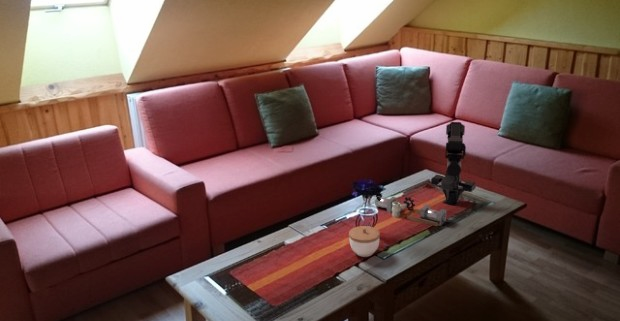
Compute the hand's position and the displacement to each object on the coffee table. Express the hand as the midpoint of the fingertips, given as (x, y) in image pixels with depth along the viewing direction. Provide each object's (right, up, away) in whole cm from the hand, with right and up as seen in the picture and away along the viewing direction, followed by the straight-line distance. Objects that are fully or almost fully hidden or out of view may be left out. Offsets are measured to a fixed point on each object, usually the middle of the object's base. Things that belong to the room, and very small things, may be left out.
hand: (452, 200), depth 232 cm
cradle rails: (-9, -9, +11) cm, 17 cm away
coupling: (-6, -10, +9) cm, 15 cm away
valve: (-19, -8, +18) cm, 28 cm away
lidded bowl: (-41, -20, -16) cm, 48 cm away
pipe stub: (-27, -6, +24) cm, 36 cm away
